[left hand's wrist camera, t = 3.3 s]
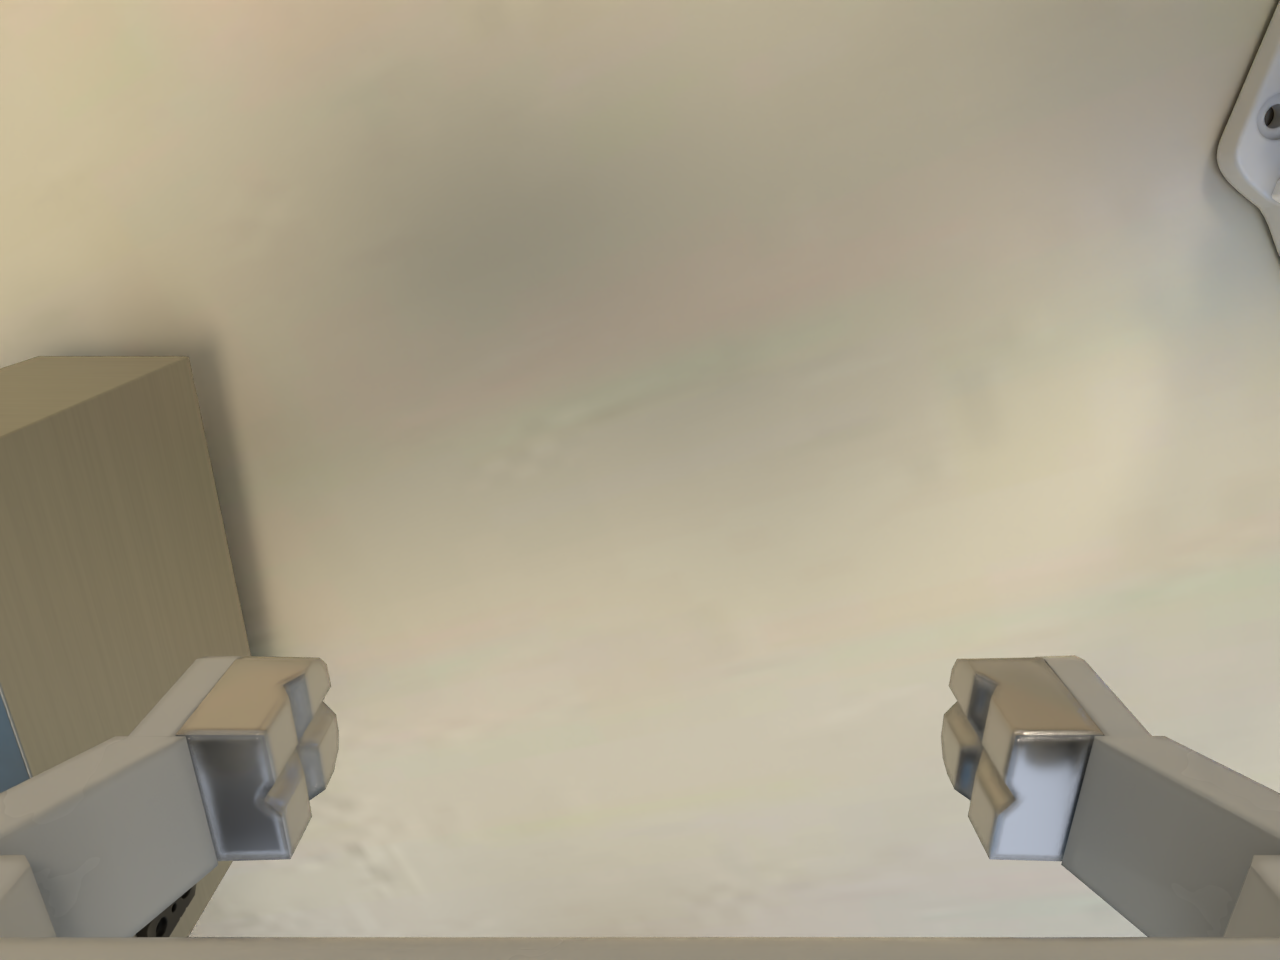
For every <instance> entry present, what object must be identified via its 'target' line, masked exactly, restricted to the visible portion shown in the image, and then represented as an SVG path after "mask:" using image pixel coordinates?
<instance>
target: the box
mask: <svg viewBox="0 0 1280 960" xmlns="http://www.w3.org/2000/svg"><path fill="white" fill-rule="evenodd" d="M206 656H241V657H244V656H251V654H250V649H249V645H248V640H247V635H246V630H245V625H244V620H243V616H242V611H241V606H240V601H239V596H238V592H237V587H236V582H235V577H234V572H233V568H232V563H231V558H230V553H229V548H228V543H227V539H226V534H225V529H224V524H223V519H222V515H221V510H220V505H219V500H218V495H217V491H216V486H215V481H214V476H213V471H212V466H211V462H210V457H209V452H208V447H207V442H206V438H205V433H204V428H203V423H202V418H201V414H200V409H199V404H198V399H197V394H196V389H195V385H194V380H193V375H192V370H191V365H190V361H189V357H187V356H38V357H35V358H32V359H29V360H26V361H22V362H19V363H16V364H13V365H10V366H7V367H4V368H1V369H0V793H2V792H4V791H6V790H8V789H10V788H12V787H14V786H16V785H18V784H20V783H22V782H24V781H26V780H28V779H30V778H32V777H34V776H36V775H38V774H40V773H42V772H44V771H46V770H48V769H50V768H52V767H54V766H56V765H58V764H60V763H62V762H64V761H66V760H68V759H70V758H72V757H74V756H76V755H78V754H80V753H82V752H84V751H86V750H89V749H91V748H93V747H95V746H97V745H99V744H101V743H103V742H105V741H107V740H109V739H111V738H113V737H115V736H128V735H129V734H130V733H131V732H132V731H133V730H134V729H135V728H136V726H137V725H138V724H139V723H140V722H141V721H142V720H143V719H144V717H145V716H146V715H147V714H148V713H149V712H150V711H151V710H152V708H153V707H154V706H155V705H156V704H157V703H158V702H159V701H160V699H161V698H162V697H163V696H164V695H165V694H166V693H167V692H168V690H169V689H170V688H171V687H172V686H173V685H174V684H175V683H176V681H177V680H178V679H179V678H180V677H181V676H182V675H183V674H184V672H185V671H186V670H187V669H188V668H189V667H190V666H191V665H192V663H193V662H194V661H195V660H196V659H199V658H202V657H206ZM231 863H232V861H218V866H217V867H215V868H214V869H213V870H212V871H211V872H209V873H208V874H207V875H206V876H205V877H203V878H202V879H201V880H200V881H199V882H197V883H196V891H195V896H194V897H193V899H192V901H191V902H190V904H189V906H188V907H186V910H185V912H184V914H183V915H182V917H180V920H179V922H178V924H177V925H176V927H175V928H174V930H173V932H172V933H171V935H170V937H188V936H189V935H190V933H191V931H192V930H193V928H194V926H195V924H196V923H197V921H198V919H199V918H200V916H201V914H202V912H203V911H204V909H205V907H206V906H207V904H208V902H209V901H210V899H211V897H212V895H213V894H214V892H215V890H216V889H217V887H218V885H219V884H220V882H221V880H222V878H223V877H224V875H225V873H226V872H227V870H228V868H229V867H230V865H231Z"/></svg>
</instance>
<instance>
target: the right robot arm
mask: <svg viewBox="0 0 1280 960" xmlns="http://www.w3.org/2000/svg"><path fill="white" fill-rule="evenodd" d="M195 891H196V884H195V885H194V886H193V887H191V888H190V889H189V890H188V891H187V892H185V893H184V894H183V895H182V896H181V897H179V898H178V899H177V900H176V901H175V902H173V903H172V904H171V905H170V906H169V907H167V908H166V909H165V910H164V911H163V912H161V913H160V914H159V915H158V916H157V917H156V918H154V919H153V920H152V921H151V922H150V923H148V924H147V925H146V926H145V927H144V928H142V929H141V930H140V931H139V932H138V933H136V934H135V935H134V936H133V937H170V935H171V933H172V932H173V930H174V928H175V927H176V925H177V924H178V922H179V920H180V917H182V915H183V914H184V912H185V910H186V907H188V906H189V904H190V902H191V901H192V899H193V897H194V896H195Z"/></svg>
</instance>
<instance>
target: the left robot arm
mask: <svg viewBox="0 0 1280 960" xmlns="http://www.w3.org/2000/svg"><path fill="white" fill-rule="evenodd" d="M1270 107H1272V108H1273V110H1274V117H1273V120H1272V122H1271V123H1270V124H1269V125H1268V126H1266V125H1265V122H1264V118H1265V114H1266V112H1267V111H1268V109H1269V108H1270ZM1217 163H1218V167H1219V169H1220V171H1221V173H1222V175H1223V176H1224V177H1225V179H1226V180H1227V181H1228V182H1229V183H1230V184H1231V185H1232V186H1233V187H1234V188H1235V189H1236V190H1237V191H1238V192H1239V193H1241V194H1242V195H1243V196H1244V197H1245V198H1246V199H1248V200H1249V201H1250V202H1251V203H1253V204H1254V205H1255V206H1256V207H1258V208H1259V210H1260V211H1261V213H1262V214H1263V216H1264V218H1265V220H1266V222H1267V224H1268V227H1269V229H1270V232H1271V235H1272V238H1273V241H1274V243H1275V246H1276V249H1277V252H1278V254H1279V256H1280V0H1279V3H1278V5H1277V7H1276V10H1275V12H1274V14H1273V17H1272V19H1271V21H1270V24H1269V26H1268V28H1267V31H1266V33H1265V35H1264V38H1263V40H1262V42H1261V45H1260V47H1259V50H1258V52H1257V54H1256V57H1255V59H1254V61H1253V64H1252V66H1251V68H1250V71H1249V73H1248V75H1247V78H1246V80H1245V82H1244V85H1243V87H1242V89H1241V92H1240V94H1239V97H1238V99H1237V101H1236V104H1235V106H1234V108H1233V111H1232V113H1231V115H1230V118H1229V120H1228V122H1227V125H1226V127H1225V129H1224V132H1223V134H1222V137H1221V139H1220V142H1219V145H1218V149H1217ZM330 687H331V683H330V678H329V673H328V669H327V664H326V663H325V662H324V661H323V660H322V659H320V658H308V657H260V656H244V657H241V656H206V657H202V658H199V659H196V660H195V661H194V662H193V663H192V665H191V666H190V667H189V668H188V669H187V670H186V671H185V672H184V674H183V675H182V676H181V677H180V678H179V679H178V680H177V681H176V683H175V684H174V685H173V686H172V687H171V688H170V689H169V690H168V692H167V693H166V694H165V695H164V696H163V697H162V698H161V699H160V701H159V702H158V703H157V704H156V705H155V706H154V707H153V708H152V710H151V711H150V712H149V713H148V714H147V715H146V716H145V717H144V719H143V720H142V721H141V722H140V723H139V724H138V725H137V726H136V728H135V729H134V730H133V731H132V732H131V733H130V734H129V735H128V736H115V737H113V738H111V739H109V740H107V741H105V742H103V743H101V744H99V745H97V746H95V747H93V748H91V749H89V750H86V751H84V752H82V753H80V754H78V755H76V756H74V757H72V758H70V759H68V760H66V761H64V762H62V763H60V764H58V765H56V766H54V767H52V768H50V769H48V770H46V771H44V772H42V773H40V774H38V775H36V776H34V777H32V778H30V779H28V780H26V781H24V782H22V783H20V784H18V785H16V786H14V787H12V788H10V789H8V790H6V791H4V792H2V793H0V960H1280V793H1278V792H1276V791H1274V790H1272V789H1270V788H1268V787H1266V786H1264V785H1262V784H1260V783H1258V782H1256V781H1254V780H1252V779H1250V778H1248V777H1246V776H1244V775H1242V774H1240V773H1238V772H1236V771H1234V770H1232V769H1230V768H1228V767H1226V766H1224V765H1222V764H1220V763H1218V762H1216V761H1214V760H1211V759H1209V758H1207V757H1205V756H1203V755H1201V754H1199V753H1197V752H1195V751H1193V750H1191V749H1189V748H1187V747H1185V746H1183V745H1181V744H1179V743H1177V742H1175V741H1173V740H1171V739H1169V738H1167V737H1165V736H1151V734H1150V733H1149V732H1148V731H1147V730H1146V729H1145V728H1144V727H1143V725H1142V724H1141V723H1140V722H1139V721H1138V720H1137V719H1136V718H1135V716H1134V715H1133V714H1132V713H1131V712H1130V711H1129V710H1128V708H1127V707H1126V706H1125V705H1124V704H1123V703H1122V702H1121V701H1120V699H1119V698H1118V697H1117V696H1116V695H1115V694H1114V693H1113V692H1112V690H1111V689H1110V688H1109V687H1108V686H1107V685H1106V684H1105V683H1104V681H1103V680H1102V679H1101V678H1100V677H1099V676H1098V675H1097V674H1096V672H1095V671H1094V670H1093V669H1092V668H1091V667H1090V666H1089V665H1088V663H1087V662H1086V661H1085V660H1083V659H1081V658H1079V657H1077V656H1075V655H1074V656H1044V657H1035V658H977V659H957V660H956V662H955V664H954V666H953V668H952V671H951V677H950V682H949V687H950V689H951V691H952V692H953V694H954V696H955V698H956V699H957V702H956V703H955V704H954V705H953V706H952V707H951V708H950V709H949V710H948V711H947V712H946V713H945V714H944V718H943V725H942V733H941V742H942V754H943V760H944V764H945V767H946V771H947V774H948V776H949V778H950V781H951V783H952V785H953V787H954V789H955V790H956V791H958V792H959V793H961V794H962V795H964V796H965V797H966V798H968V799H969V800H971V802H970V808H969V813H968V817H969V819H970V821H971V823H972V825H973V827H974V829H975V831H976V833H977V835H978V837H979V839H980V841H981V843H982V845H983V847H984V849H985V851H986V853H987V855H988V857H989V859H1002V860H1038V861H1062V864H1061V865H1063V866H1064V867H1065V868H1066V869H1067V870H1069V871H1070V872H1071V873H1072V874H1073V875H1075V876H1076V877H1077V878H1078V879H1079V880H1081V881H1082V882H1083V883H1084V884H1085V885H1087V886H1088V887H1089V888H1090V889H1091V890H1092V891H1094V892H1095V893H1096V894H1097V895H1098V896H1100V897H1101V898H1102V899H1103V900H1104V901H1106V902H1107V903H1108V904H1109V905H1110V906H1112V907H1113V908H1114V909H1115V910H1116V911H1118V912H1119V913H1120V914H1121V915H1122V916H1124V917H1125V918H1126V919H1127V920H1128V921H1130V922H1131V923H1132V924H1133V925H1134V926H1135V927H1137V928H1138V929H1139V930H1140V931H1141V932H1143V933H1144V934H1145V935H1146V936H1147V937H133V936H134V935H135V934H136V933H138V932H139V931H140V930H141V929H142V928H144V927H145V926H146V925H147V924H148V923H150V922H151V921H152V920H153V919H154V918H156V917H157V916H158V915H159V914H160V913H161V912H163V911H164V910H165V909H166V908H167V907H169V906H170V905H171V904H172V903H173V902H175V901H176V900H177V899H178V898H179V897H181V896H182V895H183V894H184V893H185V892H187V891H188V890H189V889H190V888H191V887H193V886H194V885H195V884H196V883H197V882H199V881H200V880H201V879H202V878H203V877H205V876H206V875H207V874H208V873H209V872H211V871H212V870H213V869H214V868H215V867H217V866H218V861H241V860H276V859H291V857H292V855H293V853H294V851H295V849H296V847H297V845H298V843H299V841H300V839H301V837H302V835H303V833H304V831H305V829H306V827H307V825H308V823H309V821H310V819H311V817H312V813H311V808H310V802H309V800H311V799H312V798H314V797H315V796H316V795H318V794H319V793H321V792H322V791H324V790H325V789H326V787H327V785H328V783H329V780H330V778H331V776H332V774H333V772H334V767H335V763H336V758H337V753H338V741H339V730H338V724H337V717H336V714H335V713H334V712H333V711H332V710H331V709H330V708H329V707H328V706H327V705H326V704H325V703H324V702H323V699H324V698H325V696H326V694H327V692H328V691H329V689H330Z"/></svg>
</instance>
